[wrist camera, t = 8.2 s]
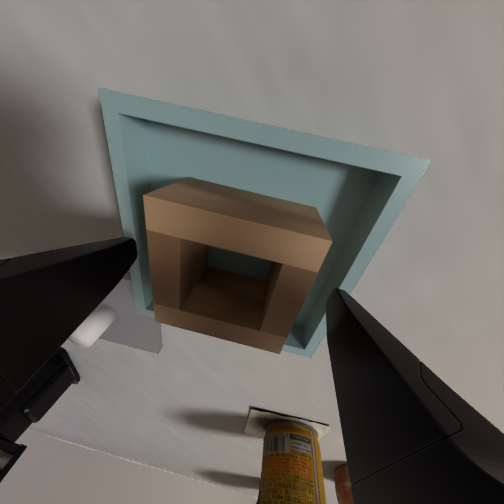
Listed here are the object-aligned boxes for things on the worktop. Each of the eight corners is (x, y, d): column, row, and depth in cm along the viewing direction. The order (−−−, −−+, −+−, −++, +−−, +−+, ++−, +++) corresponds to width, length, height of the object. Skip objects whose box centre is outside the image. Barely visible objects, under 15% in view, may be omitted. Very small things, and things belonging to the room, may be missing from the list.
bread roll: (399, 430, 26) (434, 512, 18) (426, 504, 26) (472, 618, 18) (324, 431, 29) (327, 500, 22) (347, 496, 29) (358, 590, 21)
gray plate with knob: (79, 325, 18) (44, 357, 15) (48, 253, 14) (-7, 279, 11) (162, 347, 18) (141, 383, 15) (156, 280, 13) (126, 313, 11)
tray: (156, 291, 14) (137, 313, 12) (138, 99, 8) (97, 87, 6) (307, 329, 14) (311, 358, 12) (398, 156, 8) (431, 160, 6)
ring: (187, 276, 12) (154, 321, 9) (190, 177, 9) (142, 195, 6) (280, 300, 12) (279, 353, 9) (316, 207, 9) (332, 241, 6)
